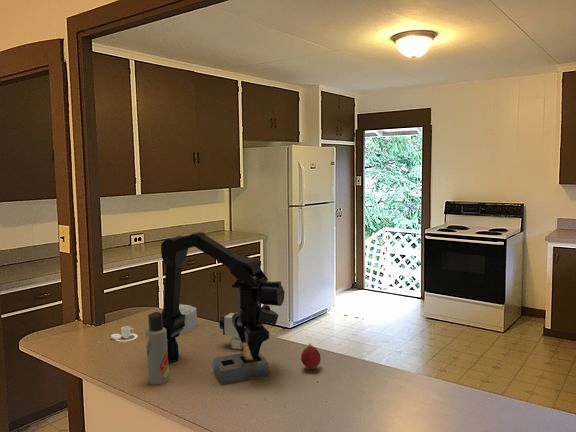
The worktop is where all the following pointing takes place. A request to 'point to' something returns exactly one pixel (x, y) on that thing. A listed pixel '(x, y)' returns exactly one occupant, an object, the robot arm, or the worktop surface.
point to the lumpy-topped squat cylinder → (188, 318)
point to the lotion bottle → (157, 350)
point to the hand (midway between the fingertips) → (250, 353)
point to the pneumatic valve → (230, 331)
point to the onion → (310, 357)
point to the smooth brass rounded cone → (247, 354)
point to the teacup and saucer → (124, 334)
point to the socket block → (239, 368)
